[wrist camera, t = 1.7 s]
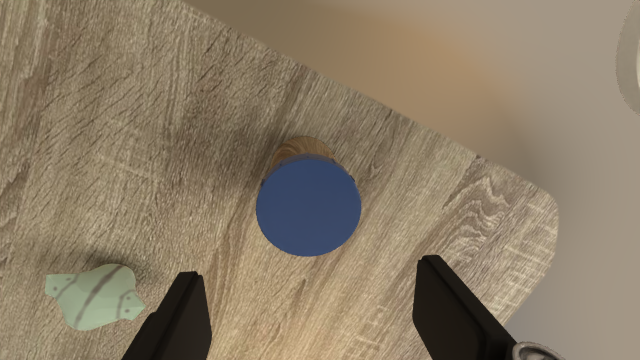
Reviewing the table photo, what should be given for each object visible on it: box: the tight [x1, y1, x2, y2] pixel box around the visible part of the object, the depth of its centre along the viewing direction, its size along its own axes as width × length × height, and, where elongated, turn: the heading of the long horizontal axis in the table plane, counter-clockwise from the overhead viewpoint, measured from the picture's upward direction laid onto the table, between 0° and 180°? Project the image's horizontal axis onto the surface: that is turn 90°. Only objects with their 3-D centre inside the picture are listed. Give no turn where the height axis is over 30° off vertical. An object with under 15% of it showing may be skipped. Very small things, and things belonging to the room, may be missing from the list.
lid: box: [256, 152, 361, 256], centre depth 19 cm, size 7×7×2 cm
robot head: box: [45, 263, 146, 331], centre depth 26 cm, size 8×4×7 cm, turn 63°
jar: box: [268, 136, 338, 173], centre depth 24 cm, size 6×6×9 cm
